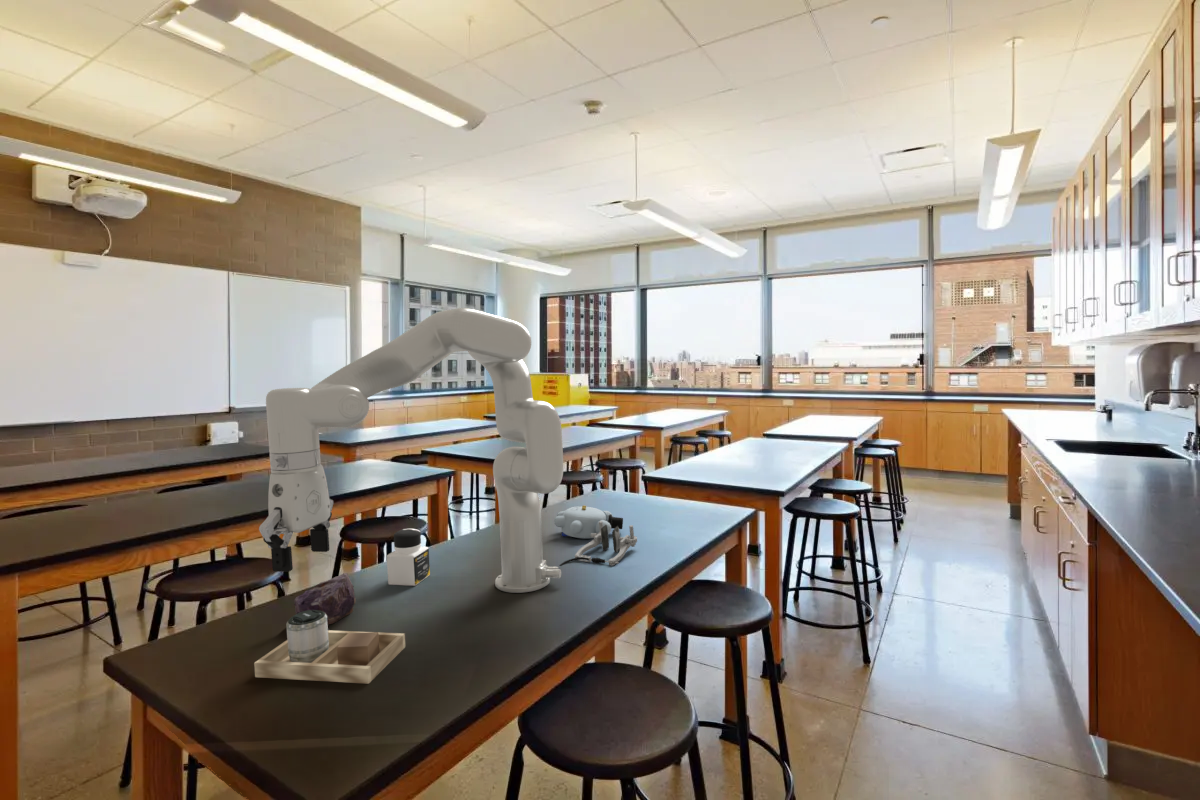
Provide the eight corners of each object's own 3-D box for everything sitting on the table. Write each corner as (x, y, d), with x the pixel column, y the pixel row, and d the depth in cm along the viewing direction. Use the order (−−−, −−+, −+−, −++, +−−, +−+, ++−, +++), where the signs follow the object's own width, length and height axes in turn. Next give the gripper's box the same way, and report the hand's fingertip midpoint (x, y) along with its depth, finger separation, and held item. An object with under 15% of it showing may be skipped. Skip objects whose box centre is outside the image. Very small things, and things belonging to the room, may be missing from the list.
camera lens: (315, 647, 104) (312, 604, 104) (337, 654, 101) (334, 611, 101) (281, 663, 99) (278, 618, 98) (303, 671, 96) (300, 625, 95)
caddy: (405, 650, 103) (404, 633, 103) (368, 688, 92) (367, 668, 91) (303, 646, 106) (302, 629, 106) (255, 681, 95) (254, 662, 94)
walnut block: (379, 654, 101) (378, 632, 101) (368, 669, 96) (367, 646, 96) (350, 655, 101) (349, 633, 100) (338, 670, 96) (336, 647, 95)
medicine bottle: (415, 586, 134) (412, 535, 133) (387, 585, 136) (384, 534, 135) (430, 575, 141) (428, 526, 140) (403, 574, 143) (401, 526, 142)
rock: (294, 631, 116) (320, 643, 110) (283, 592, 114) (309, 602, 108) (348, 602, 125) (374, 611, 119) (339, 565, 123) (365, 573, 117)
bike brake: (598, 540, 163) (560, 574, 146) (595, 517, 161) (557, 549, 144) (642, 546, 156) (608, 583, 139) (640, 523, 155) (605, 557, 138)
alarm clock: (550, 542, 164) (620, 548, 163) (552, 512, 163) (623, 518, 162) (558, 524, 181) (622, 530, 180) (560, 498, 180) (624, 503, 179)
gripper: (280, 470, 89) (287, 580, 90) (346, 452, 106) (351, 545, 107) (236, 471, 90) (244, 579, 91) (308, 453, 107) (314, 544, 108)
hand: (302, 560), depth 99 cm, fingers open, 9 cm apart
